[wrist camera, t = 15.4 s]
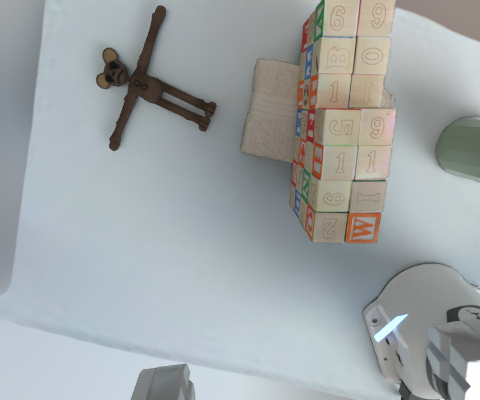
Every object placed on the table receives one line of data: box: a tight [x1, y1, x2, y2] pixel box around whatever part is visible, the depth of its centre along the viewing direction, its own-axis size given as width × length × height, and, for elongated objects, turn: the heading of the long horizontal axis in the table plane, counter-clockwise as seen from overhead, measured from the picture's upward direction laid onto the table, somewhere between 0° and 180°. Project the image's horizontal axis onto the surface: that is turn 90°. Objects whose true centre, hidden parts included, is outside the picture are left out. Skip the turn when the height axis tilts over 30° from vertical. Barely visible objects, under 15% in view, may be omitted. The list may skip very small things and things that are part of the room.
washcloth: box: [241, 59, 395, 163], centre depth 39 cm, size 12×18×3 cm, turn 79°
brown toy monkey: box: [96, 6, 217, 151], centre depth 38 cm, size 18×4×14 cm
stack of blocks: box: [289, 0, 397, 243], centre depth 32 cm, size 21×6×12 cm, turn 179°
